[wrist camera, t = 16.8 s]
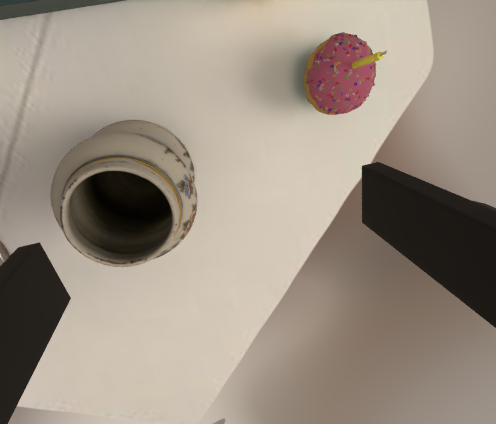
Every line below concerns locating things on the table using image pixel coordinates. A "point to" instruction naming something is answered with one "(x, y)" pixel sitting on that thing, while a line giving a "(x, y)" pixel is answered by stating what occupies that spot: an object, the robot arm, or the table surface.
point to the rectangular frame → (42, 6)
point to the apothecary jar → (125, 194)
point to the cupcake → (340, 74)
